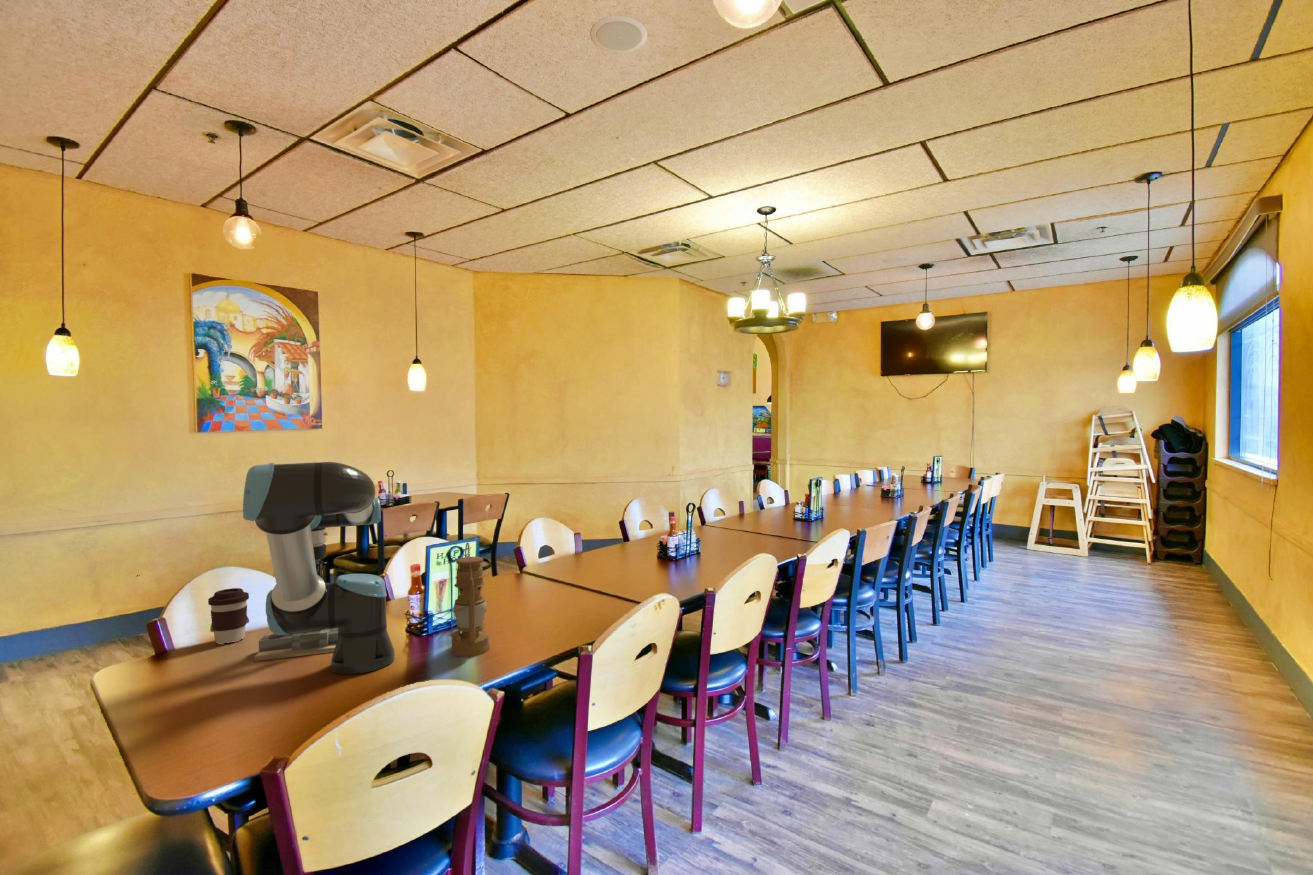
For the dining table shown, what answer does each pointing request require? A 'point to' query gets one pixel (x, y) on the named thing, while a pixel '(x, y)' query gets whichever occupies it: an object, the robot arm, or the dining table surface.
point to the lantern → (469, 609)
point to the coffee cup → (229, 614)
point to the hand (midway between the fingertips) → (313, 623)
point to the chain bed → (293, 653)
